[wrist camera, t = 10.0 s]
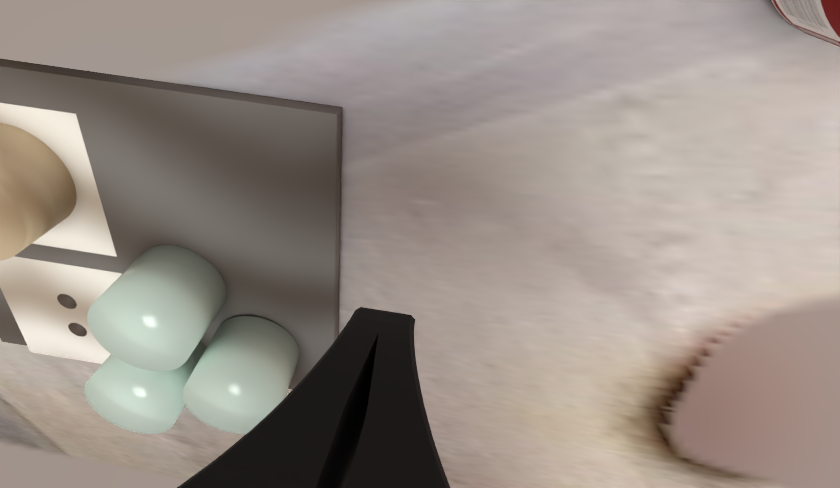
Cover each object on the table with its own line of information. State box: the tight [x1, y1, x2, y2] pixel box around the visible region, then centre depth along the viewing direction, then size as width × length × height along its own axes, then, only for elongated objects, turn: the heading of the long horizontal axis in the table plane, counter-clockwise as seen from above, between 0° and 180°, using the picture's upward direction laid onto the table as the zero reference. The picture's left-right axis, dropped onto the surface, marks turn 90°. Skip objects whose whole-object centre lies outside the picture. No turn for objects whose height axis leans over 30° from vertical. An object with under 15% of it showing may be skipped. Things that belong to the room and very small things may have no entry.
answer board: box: [0, 59, 342, 389], centre depth 24 cm, size 16×19×1 cm
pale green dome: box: [182, 316, 300, 434], centre depth 25 cm, size 4×4×4 cm
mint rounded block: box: [85, 341, 206, 434], centre depth 26 cm, size 4×4×4 cm
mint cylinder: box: [87, 245, 227, 372], centre depth 23 cm, size 4×4×4 cm
